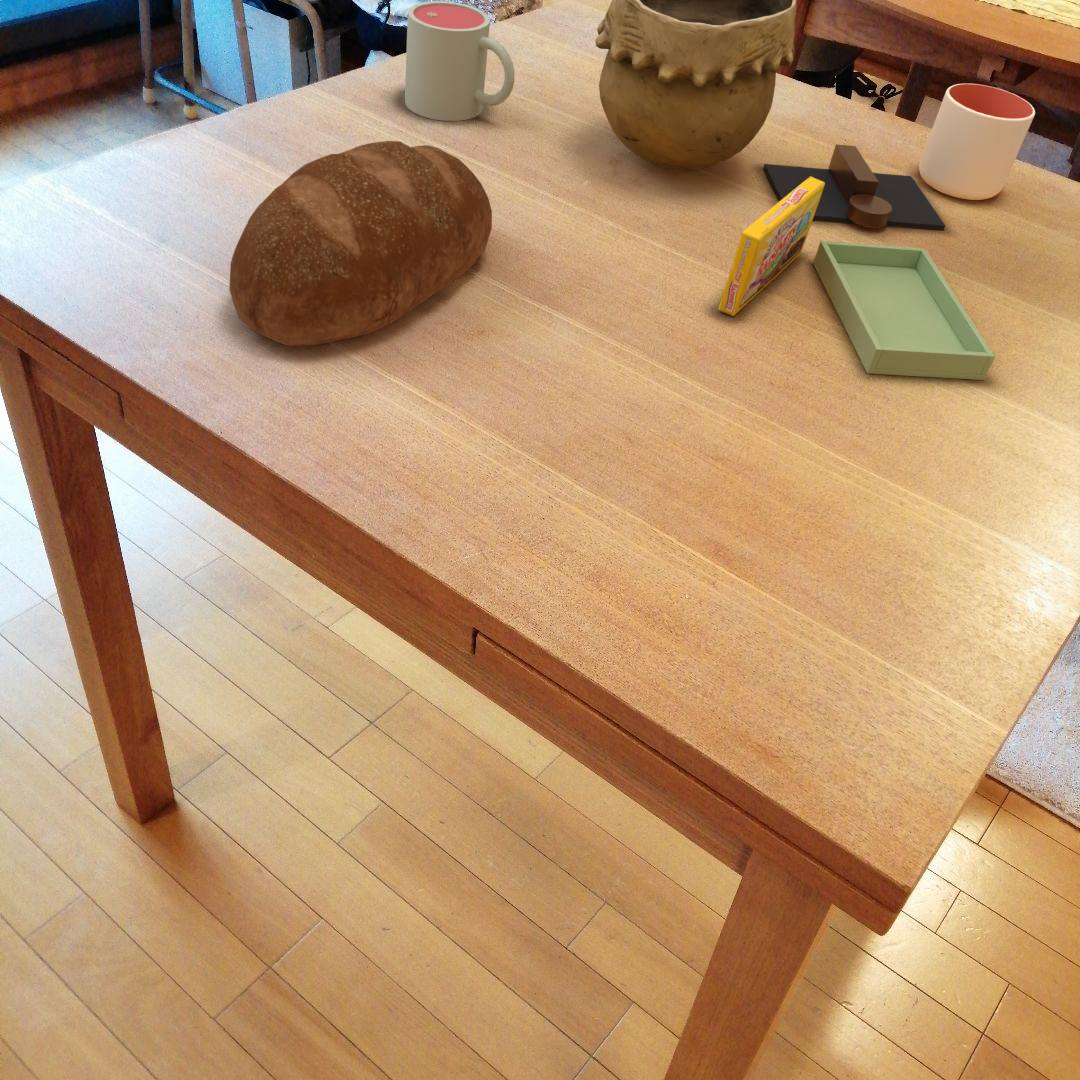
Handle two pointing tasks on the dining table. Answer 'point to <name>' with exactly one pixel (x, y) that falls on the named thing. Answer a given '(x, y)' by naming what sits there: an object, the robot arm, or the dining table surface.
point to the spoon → (858, 187)
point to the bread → (357, 242)
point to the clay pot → (692, 74)
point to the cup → (975, 141)
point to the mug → (451, 61)
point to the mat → (832, 206)
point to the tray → (901, 312)
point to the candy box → (770, 245)
